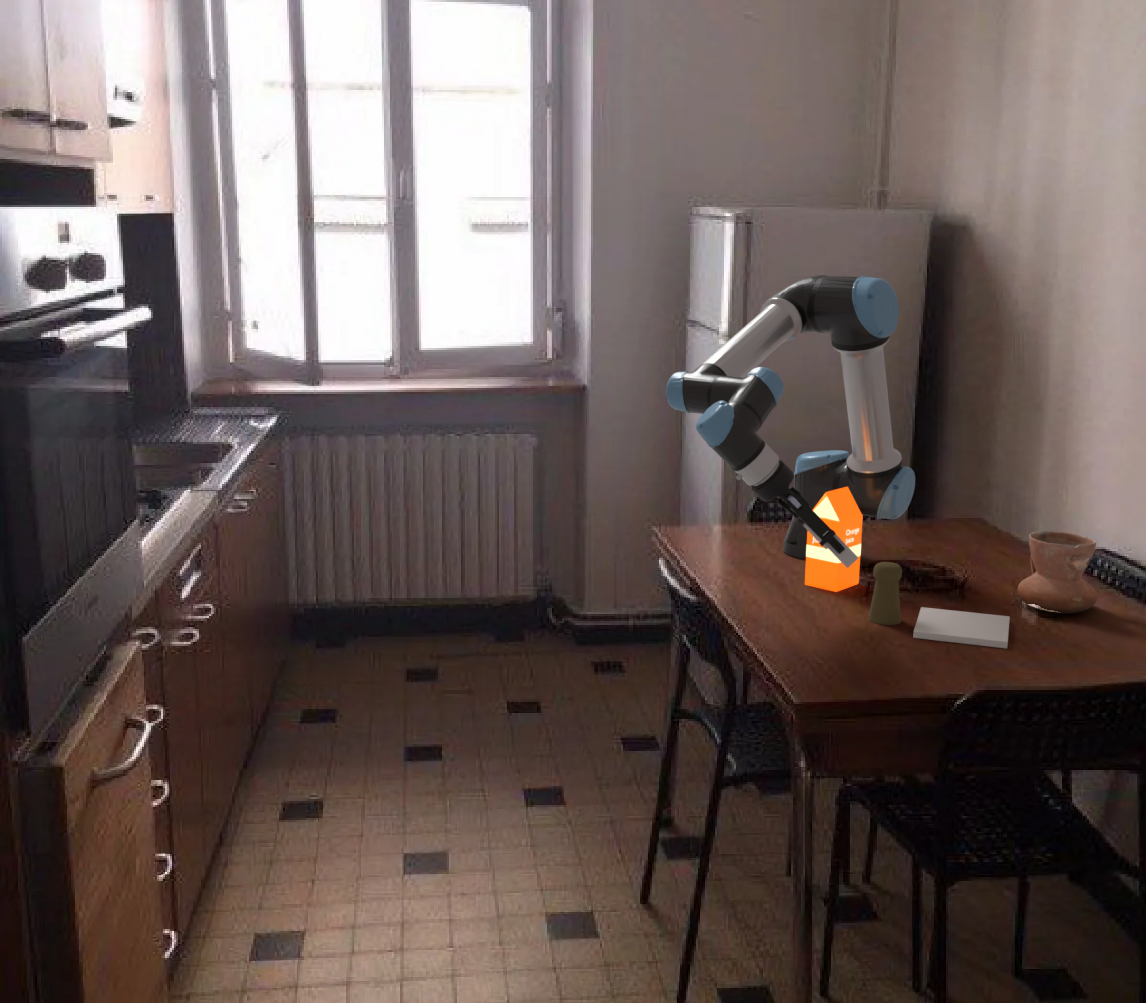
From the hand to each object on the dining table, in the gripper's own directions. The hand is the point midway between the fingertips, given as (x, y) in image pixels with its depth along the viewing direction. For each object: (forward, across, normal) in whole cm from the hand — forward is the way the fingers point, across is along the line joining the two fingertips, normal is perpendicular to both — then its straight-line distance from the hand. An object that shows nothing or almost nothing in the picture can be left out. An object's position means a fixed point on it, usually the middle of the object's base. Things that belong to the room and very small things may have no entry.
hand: (841, 553), depth 232 cm
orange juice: (+14, -25, -5) cm, 29 cm away
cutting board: (+24, +6, +6) cm, 26 cm away
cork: (+16, 0, -3) cm, 16 cm away
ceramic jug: (+41, -7, +23) cm, 48 cm away
